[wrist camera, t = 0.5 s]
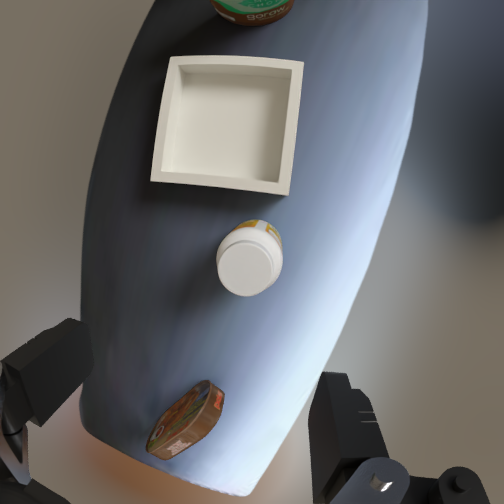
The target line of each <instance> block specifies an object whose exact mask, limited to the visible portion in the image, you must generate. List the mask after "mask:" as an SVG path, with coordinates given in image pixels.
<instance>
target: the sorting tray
mask: <svg viewBox="0 0 504 504" xmlns="http://www.w3.org/2000/svg"><path fill="white" fill-rule="evenodd" d="M303 65H304V62H299V61H291V60H283V59H273V58H262V57H246V56H176V57H170V62H169V66H168V71H167V76H166V81H165V86H164V91H163V96H162V102H161V107H160V113H159V119H158V126H157V132H156V139H155V147H154V154H153V163H152V171H151V181H157V182H170V183H182V184H193V185H204V186H214V187H223V188H232V189H241V190H249V191H257V192H265V193H273V194H280V195H287V196H288V195H289V188H290V180H291V172H292V164H293V156H294V148H295V140H296V131H297V122H298V113H299V104H300V95H301V85H302V75H303Z"/></svg>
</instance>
